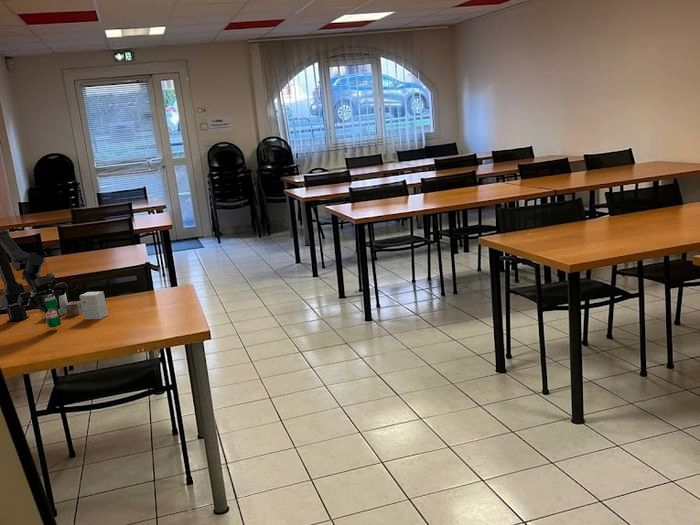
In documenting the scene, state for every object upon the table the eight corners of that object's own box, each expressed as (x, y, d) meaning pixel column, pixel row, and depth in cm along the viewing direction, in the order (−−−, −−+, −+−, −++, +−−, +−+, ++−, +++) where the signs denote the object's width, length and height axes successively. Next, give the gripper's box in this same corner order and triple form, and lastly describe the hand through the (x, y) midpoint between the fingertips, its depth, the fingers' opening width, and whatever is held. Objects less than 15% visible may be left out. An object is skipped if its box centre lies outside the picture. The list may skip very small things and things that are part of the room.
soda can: (46, 328, 258) (40, 299, 256) (48, 324, 263) (43, 296, 260) (60, 326, 260) (54, 297, 257) (62, 322, 264) (56, 294, 262)
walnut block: (67, 316, 280) (65, 305, 279) (71, 313, 285) (69, 302, 284) (79, 315, 280) (77, 304, 279) (83, 311, 285) (81, 300, 284)
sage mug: (68, 314, 283) (64, 294, 281) (51, 317, 281) (47, 297, 279) (70, 309, 291) (66, 290, 289) (53, 312, 289) (49, 292, 287)
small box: (108, 315, 275) (104, 291, 273) (100, 319, 270) (95, 295, 268) (92, 315, 278) (87, 291, 275) (83, 319, 272) (79, 295, 270)
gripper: (14, 273, 252) (33, 304, 247) (61, 262, 265) (79, 291, 261) (9, 291, 258) (28, 321, 254) (55, 279, 272) (73, 308, 268)
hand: (53, 310), depth 259 cm, fingers closed on soda can, 5 cm apart
